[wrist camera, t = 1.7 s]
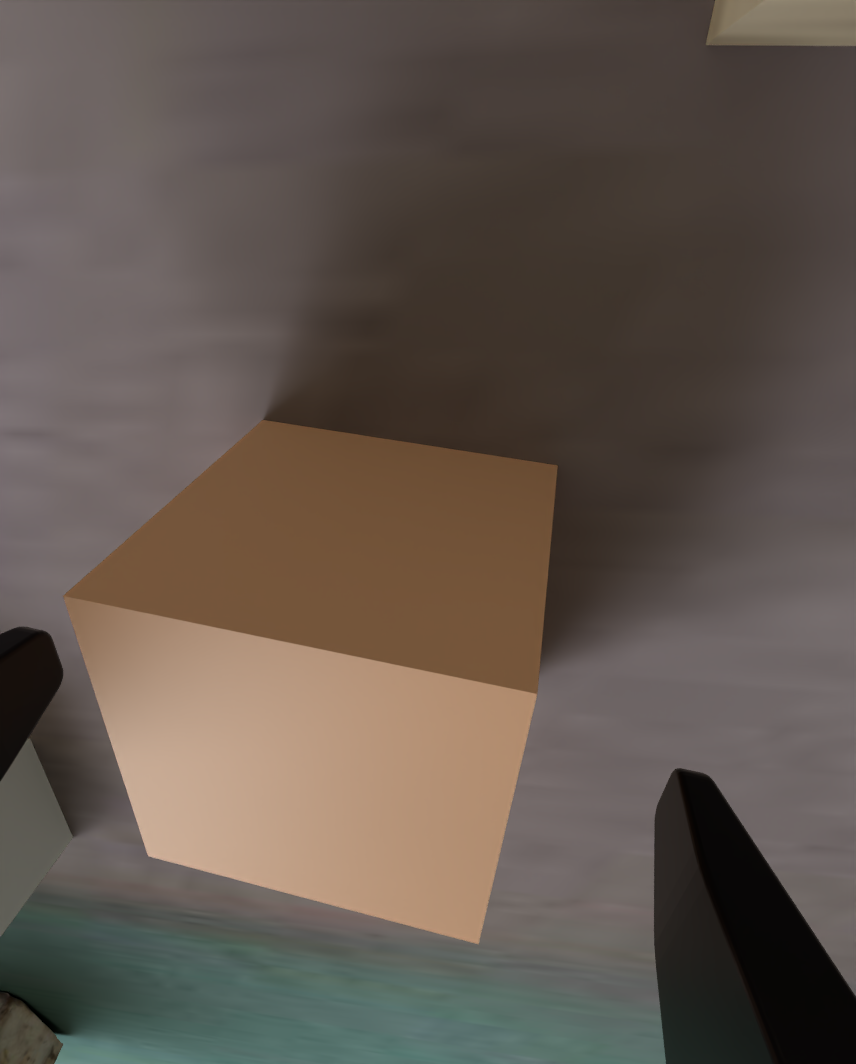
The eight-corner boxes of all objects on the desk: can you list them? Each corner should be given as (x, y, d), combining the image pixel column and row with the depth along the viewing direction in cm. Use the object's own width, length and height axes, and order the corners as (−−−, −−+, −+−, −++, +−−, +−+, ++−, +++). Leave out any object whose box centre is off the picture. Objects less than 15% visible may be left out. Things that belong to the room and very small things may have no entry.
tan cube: (557, 463, 10) (537, 694, 6) (513, 682, 13) (478, 944, 9) (265, 418, 11) (62, 595, 7) (282, 634, 13) (148, 856, 9)
